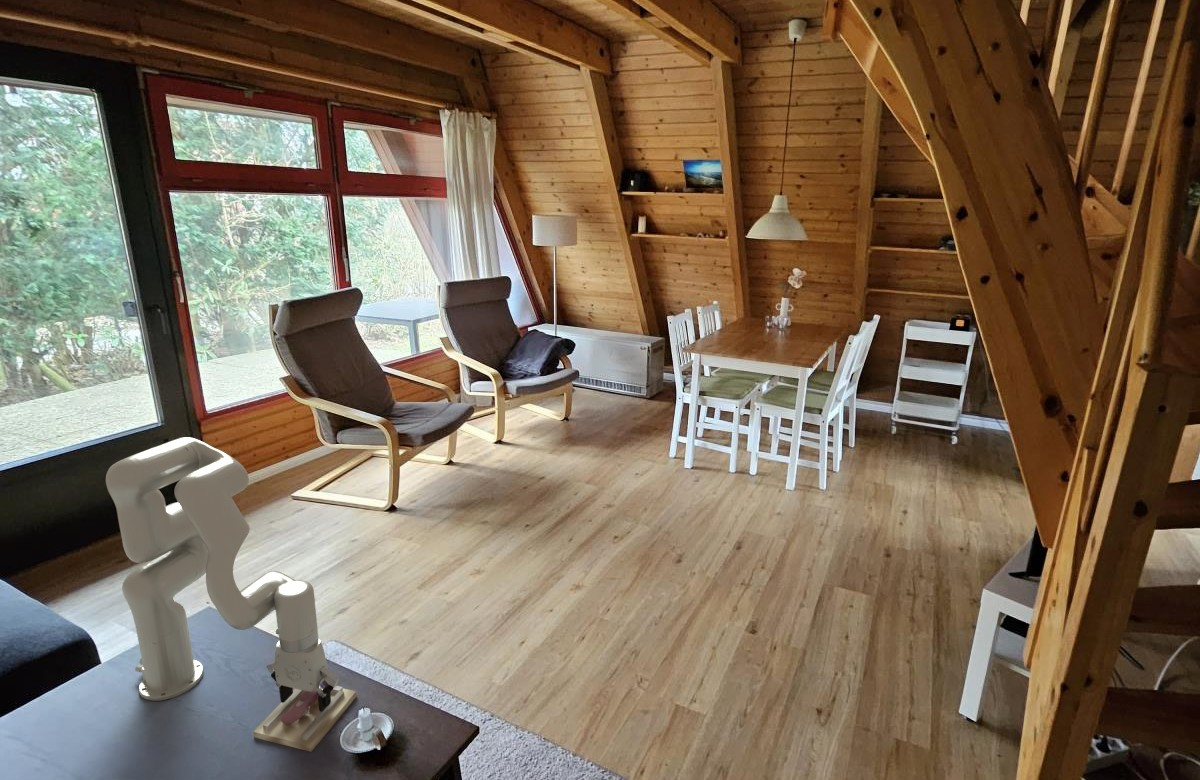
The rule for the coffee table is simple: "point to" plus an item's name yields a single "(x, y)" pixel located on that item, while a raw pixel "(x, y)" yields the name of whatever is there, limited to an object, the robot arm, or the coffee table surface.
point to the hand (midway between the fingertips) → (306, 702)
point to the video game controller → (301, 706)
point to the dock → (304, 721)
